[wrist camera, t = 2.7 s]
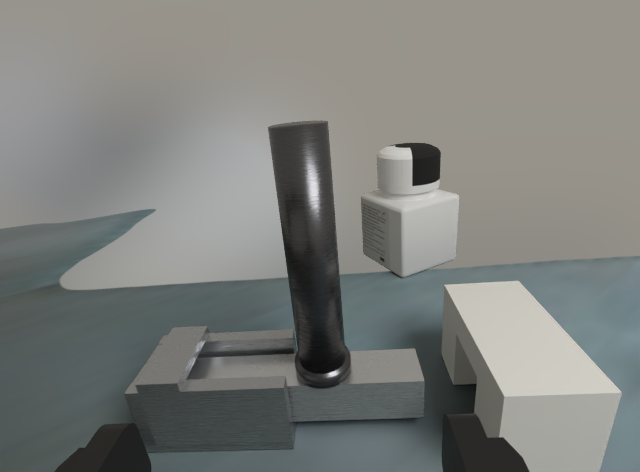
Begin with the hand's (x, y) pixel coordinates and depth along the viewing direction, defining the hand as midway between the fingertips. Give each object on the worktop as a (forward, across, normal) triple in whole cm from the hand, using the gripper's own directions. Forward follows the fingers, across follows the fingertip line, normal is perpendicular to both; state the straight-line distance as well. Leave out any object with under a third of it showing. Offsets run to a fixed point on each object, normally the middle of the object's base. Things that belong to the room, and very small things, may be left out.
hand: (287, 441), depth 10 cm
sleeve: (+11, +7, +11) cm, 17 cm away
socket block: (+11, -11, +11) cm, 19 cm away
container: (+33, -9, +11) cm, 36 cm away
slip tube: (+11, +2, +11) cm, 16 cm away
